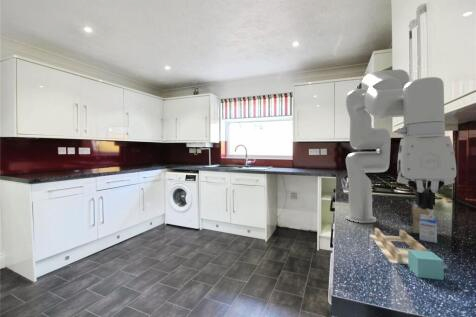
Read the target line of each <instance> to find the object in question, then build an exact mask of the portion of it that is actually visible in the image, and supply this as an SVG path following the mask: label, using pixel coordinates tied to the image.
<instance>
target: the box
mask: <svg viewBox="0 0 476 317" xmlns="http://www.w3.org/2000/svg"><path fill="white" fill-rule="evenodd" d="M412 211H413V213H412V214H413V222H412V227H413V228H412V230H413V231H412V233H413V234H420V225H419V220H420V214H426V215H432V216H435V213H434V212H435V206H433V210H430V209H426V210H425V209H421V208H419V207H418V206H417V205H416V203H415V204H413V210H412Z"/></svg>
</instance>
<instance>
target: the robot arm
mask: <svg viewBox="0 0 476 317" xmlns="http://www.w3.org/2000/svg"><path fill="white" fill-rule="evenodd" d="M444 87H445V86H444V81H443V79H442V78H440V77H437V76H435V77H434V76H433V77H432V76H429V77H427V76H426V77H422V78H417V79H414V80H412V81H410V76H409V74H408V72H407V71H406V70H404V69H400V68H399V69H390V70H389V69H388V70H387V69H386V70H381V71H380V70H379V71H373V72H370V73H368V74H367V75H366V76H364V77H363V79H362V80H361V88H357V89H354V90H351V91H349V92H348V93H347V94H346V97H345V107H346V110H347V113H348V116H349V145H350V147H351V148H352V149H354V150H375V151H355V152H351V153H348V154H347V156H346V158H345V165H346V170H347V182H348V214H346V215H345V219H346V220H347V219H348V220H347V221H349V220H350V222H353V221H354V222H353V223H358V222H359V223H360V224H373V223H376V222H377V218H376V217H375V216H373V191H372V190H373V189H372V188H373V186H372V185H373V184H372V181H371V179H370V178H369V177H368V176H367V175H366V173H367V174H368V173H384V172H387V171H388V169H389V168H390V162H391V161H390V160H391V158H390V157H391V140H392V139H391V137H392V136H391V133H390V131H389V129H387V128H385V127H372V122H373V121H372V120H373V118H372V116H373V117H374V118H378V119H379V118H380V119H381V118H382V119H386V118H389V119H390V118H399V117H400V118H401V117H402V118H403V126H402V127H401V128H400V127H399V128H397V129H396V130H397V131H396V132H397V134H398V135H399V134H400V135H402V137H403V138H401V139H400V142H399V148H398V155H397V179H396V182H397V183H399V184H403V185H407V186H409V187H410V188H411V189H412V190H413V191H414V202H415V204H416V205H417V206H418V207H419V208H421V209H425V210H426V209H430V210H433V206H434V207H435V206H436V193H438V191H439V190H440V189H441V188H443V187H444V186H447V185H451V184H455V182H456V181H455V178H456V177H457V164H456V157H455V156H456V155H455V149H454V146H453V142H452V138H451V137H450V136H449V135H447V136H446V128H445V127H446V126H445V125H446V123H445V122H446V121H445V120H446V119H445V88H444ZM423 180H424V181H426V184H425V189H424V183H423Z"/></svg>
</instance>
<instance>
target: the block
mask: <svg viewBox="0 0 476 317" xmlns="http://www.w3.org/2000/svg"><path fill="white" fill-rule="evenodd" d="M407 265H408V268H409V270H411V271H412V272H413V273H414V275H415V276H416V277H417V278H423V279H431V280H432V279H433V280H442V281H445V280H444V279H445V278H444V277H445V276H444V274H445V273H444V271H445V268H444V267H445V266H444V259H443V258H441V257H439V256H438V255H436V254H435V253H434V252H433V251H430V250H429V251H418V250H408V264H407Z"/></svg>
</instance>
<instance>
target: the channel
mask: <svg viewBox="0 0 476 317" xmlns="http://www.w3.org/2000/svg"><path fill="white" fill-rule="evenodd" d="M398 232H399V236H398V235H397V236H395V235H386V234H384V233H383V232H382V231H381V230H380V229H379V228H378V227H374V234H370V233H369V236H370V237H371V239H372V240H373V241H374V243H375V244H376V245H377V247H378V248H379V249H380V251H382V253H383V255H384V256H385V257H386V259H387V260H388V262H390V263H394V264H402V265H408V250H418V251H430V250H429V249H427V248H426V247H425V246H424V245H423V244H421V243H420V242H419V241H418V240H416V239H415V238H413V236H412V235H410V234H409V233H408V232H406V231H405V230H404V229H400V228H399V229H398ZM392 242H401V243H406V245H408V246H409V247H410V248H406V247H405V248H403V247H396V246H395V245H394V244H393V243H392ZM444 269H446V267H445V266H444Z"/></svg>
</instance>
